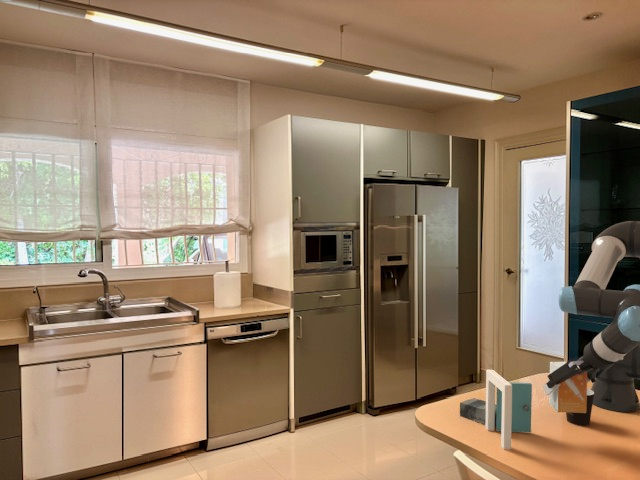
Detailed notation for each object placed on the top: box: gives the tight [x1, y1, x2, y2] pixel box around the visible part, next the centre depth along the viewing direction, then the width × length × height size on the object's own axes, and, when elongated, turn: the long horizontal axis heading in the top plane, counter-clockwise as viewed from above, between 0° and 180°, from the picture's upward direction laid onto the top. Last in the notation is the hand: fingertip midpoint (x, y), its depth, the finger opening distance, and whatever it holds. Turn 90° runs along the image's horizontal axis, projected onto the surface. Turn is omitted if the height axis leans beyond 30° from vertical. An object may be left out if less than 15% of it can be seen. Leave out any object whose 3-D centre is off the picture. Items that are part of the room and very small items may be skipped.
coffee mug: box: [565, 388, 594, 427], centre depth 154 cm, size 12×9×10 cm
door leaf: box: [495, 381, 533, 433], centre depth 144 cm, size 2×10×14 cm, turn 85°
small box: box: [548, 361, 588, 413], centre depth 140 cm, size 8×6×13 cm
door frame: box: [484, 369, 512, 451], centre depth 141 cm, size 2×14×18 cm, turn 0°
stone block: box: [459, 397, 497, 430], centre depth 155 cm, size 9×14×5 cm, turn 38°
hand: (559, 389), depth 143 cm, fingers closed on small box, 9 cm apart
